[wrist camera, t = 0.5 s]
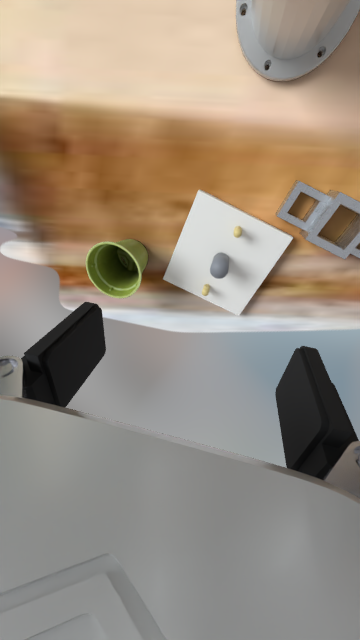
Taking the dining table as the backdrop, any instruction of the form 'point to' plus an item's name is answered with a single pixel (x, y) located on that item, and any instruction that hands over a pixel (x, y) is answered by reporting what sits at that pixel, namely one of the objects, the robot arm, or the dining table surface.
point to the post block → (224, 253)
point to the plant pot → (117, 267)
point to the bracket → (324, 219)
